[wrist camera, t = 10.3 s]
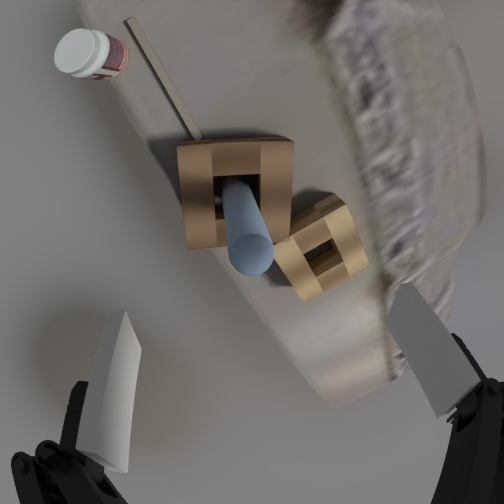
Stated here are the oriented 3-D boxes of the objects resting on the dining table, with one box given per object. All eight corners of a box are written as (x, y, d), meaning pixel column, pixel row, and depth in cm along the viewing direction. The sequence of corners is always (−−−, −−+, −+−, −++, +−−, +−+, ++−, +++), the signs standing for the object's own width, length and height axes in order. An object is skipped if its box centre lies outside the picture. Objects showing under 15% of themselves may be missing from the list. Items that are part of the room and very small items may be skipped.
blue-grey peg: (221, 174, 29) (230, 245, 16) (249, 174, 29) (281, 243, 16) (221, 200, 31) (230, 286, 17) (248, 199, 31) (276, 284, 18)
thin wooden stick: (127, 21, 18) (126, 20, 18) (134, 17, 18) (133, 16, 18) (195, 140, 27) (195, 141, 26) (202, 137, 27) (202, 137, 26)
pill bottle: (115, 32, 19) (83, 13, 11) (137, 59, 21) (109, 46, 14) (81, 61, 19) (41, 54, 12) (102, 89, 22) (65, 88, 15)
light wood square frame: (262, 234, 33) (267, 248, 31) (334, 193, 32) (346, 203, 29) (296, 286, 39) (303, 303, 36) (358, 251, 37) (369, 265, 34)
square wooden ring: (180, 141, 26) (176, 146, 24) (285, 136, 28) (293, 141, 25) (189, 234, 32) (187, 249, 29) (281, 228, 33) (288, 242, 30)
